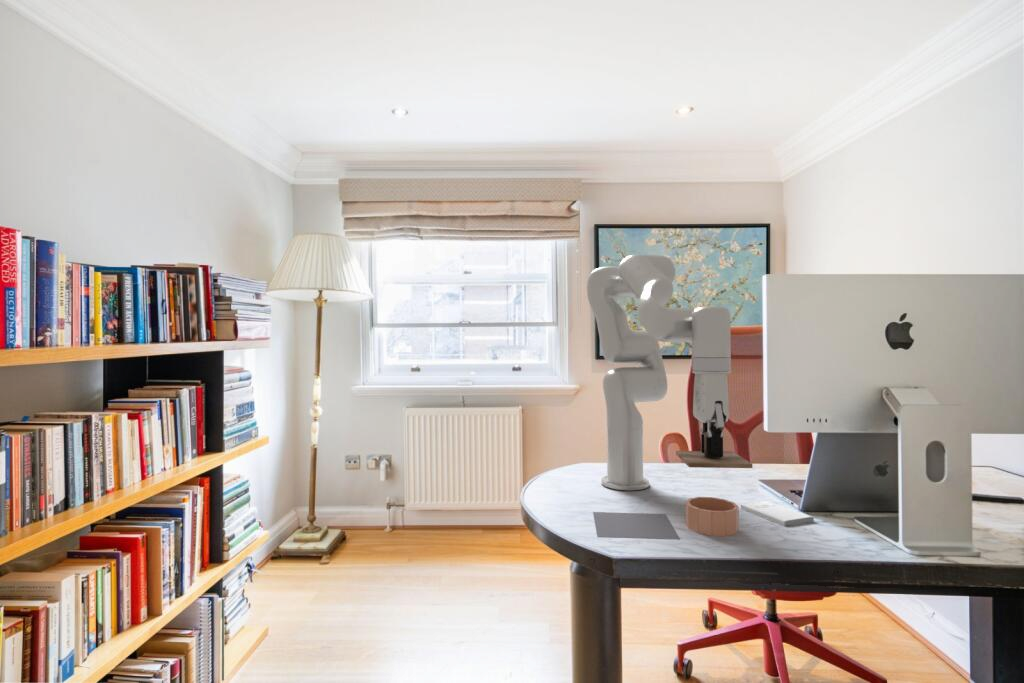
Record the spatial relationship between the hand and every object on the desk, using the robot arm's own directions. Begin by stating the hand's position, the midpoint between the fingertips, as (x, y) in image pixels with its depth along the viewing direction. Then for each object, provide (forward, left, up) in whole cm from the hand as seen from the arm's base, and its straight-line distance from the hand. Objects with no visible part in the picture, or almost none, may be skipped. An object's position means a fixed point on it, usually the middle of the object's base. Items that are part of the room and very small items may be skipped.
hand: (712, 454), depth 110 cm
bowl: (0, 0, -15) cm, 15 cm away
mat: (0, -16, -15) cm, 22 cm away
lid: (0, 0, -1) cm, 1 cm away
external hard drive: (-10, +16, -16) cm, 25 cm away
